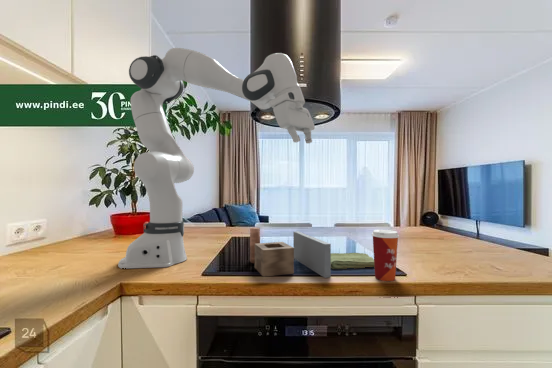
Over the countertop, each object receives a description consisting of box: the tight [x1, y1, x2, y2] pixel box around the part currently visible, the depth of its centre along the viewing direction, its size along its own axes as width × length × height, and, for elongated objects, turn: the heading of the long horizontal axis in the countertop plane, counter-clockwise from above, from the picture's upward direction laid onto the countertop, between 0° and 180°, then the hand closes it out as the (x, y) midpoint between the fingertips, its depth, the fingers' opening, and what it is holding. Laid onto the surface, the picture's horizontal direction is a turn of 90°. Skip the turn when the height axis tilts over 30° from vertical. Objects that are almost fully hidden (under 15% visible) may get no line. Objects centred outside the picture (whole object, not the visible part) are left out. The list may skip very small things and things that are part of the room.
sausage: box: [249, 227, 261, 264], centre depth 104 cm, size 4×4×12 cm
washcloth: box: [331, 252, 374, 270], centre depth 102 cm, size 13×18×3 cm
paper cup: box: [371, 229, 400, 282], centre depth 87 cm, size 8×8×14 cm
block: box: [254, 241, 295, 278], centre depth 94 cm, size 10×10×8 cm
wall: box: [292, 230, 332, 279], centre depth 98 cm, size 2×24×10 cm, turn 19°
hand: (303, 142), depth 93 cm, fingers open, 8 cm apart
